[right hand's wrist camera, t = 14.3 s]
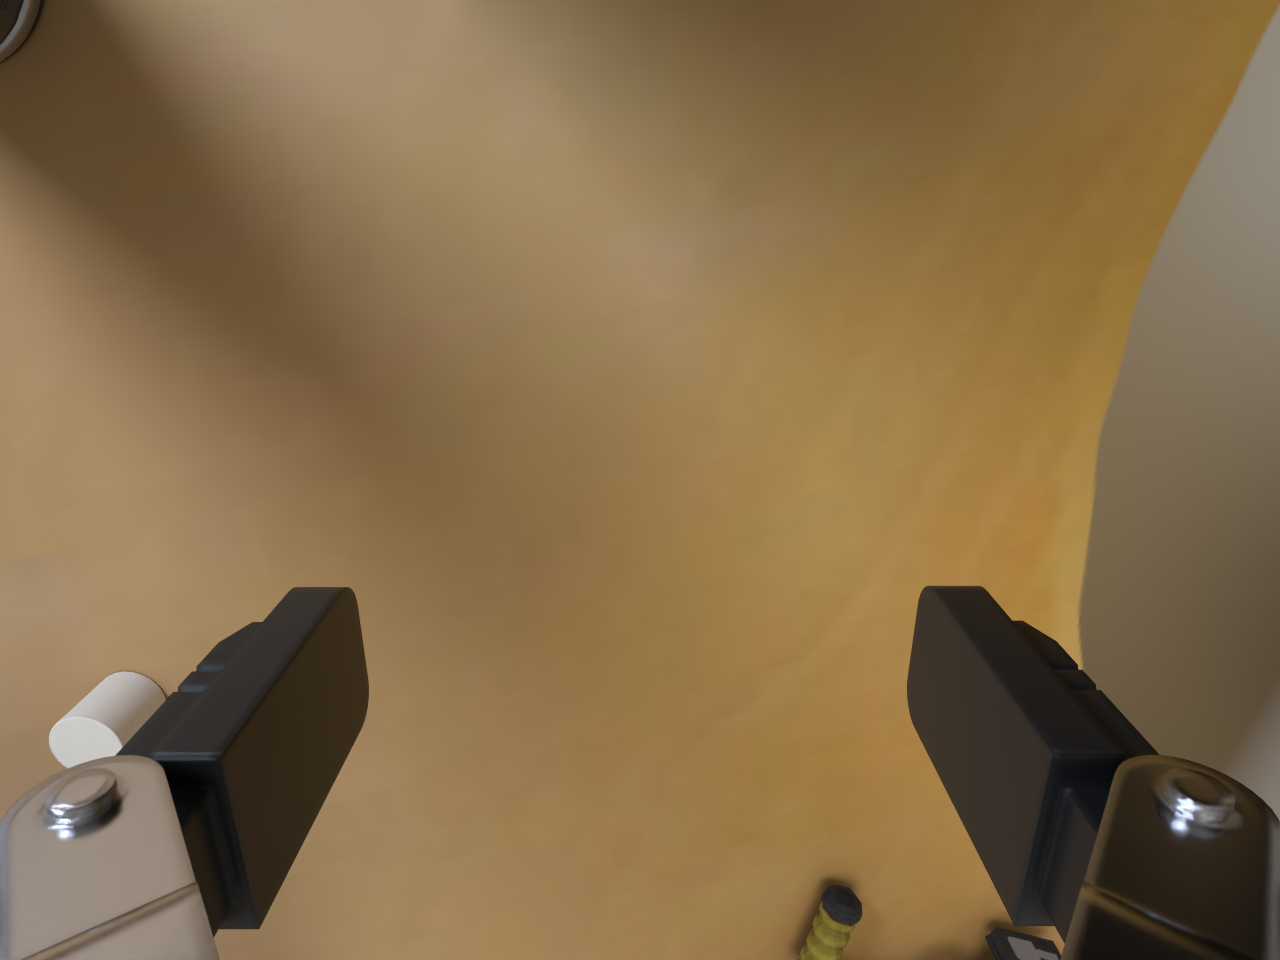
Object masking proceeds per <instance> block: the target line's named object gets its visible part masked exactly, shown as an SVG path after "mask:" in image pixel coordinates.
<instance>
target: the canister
mask: <svg viewBox="0 0 1280 960" xmlns="http://www.w3.org/2000/svg"><path fill="white" fill-rule="evenodd" d="M165 701H166V698H165V695H164V693H163V691H162V690H161V689H160V687H159V686H158V685H157V684H156V683H155V682H154V681H152V680H151V679H149V678H148V677H146V676H144V675H141V674H138V673H134V672H117V673H114V674H111V675H109V676H108V677H106V678H105V679H104V680H103V681H102V682H101V683H100V684H99V685H97V686H96V687H95V688H94V689H93V690H92V691H91V692H90V693H89V694H88V695H87V696H86V697H84V698H83V699H82V700H81V701H80V702H79V703H78V704H77V705H76V706H75V707H74V708H73V709H72V710H70V711H69V712H68V713H67V714H66V715H65V716H64V717H63V718H62V719H61V720H60V721H59V722H57V723H56V724H55V725H54V727H53V728H52V730H51V732H50V735H49V745H50V748H51V751H52V753H53V754H54V756H55V757H56V759H57V760H58V761H59V762H60V763H61V764H62V765H64V766H65V767H67V768H71V767H73V766H76V765H78V764H81V763H84V762H88V761H91V760H95V759H99V758H104V757H110V756H115V755H116V754H117V753H118V752H119V751H120V750H121V749H122V747H123V746H124V745H125V744H126V743H127V742H128V741H129V740H130V739H131V738H132V737H133V736H134V734H135V733H136V732H137V731H138V730H139V729H140V728H141V727H142V726H143V725H144V724H145V722H146V721H147V720H148V719H149V718H150V717H151V716H152V715H153V714H154V713H155V712H156V710H157V709H158V708H159V707H160V706H161V705H162V704H163V703H164V702H165Z"/></svg>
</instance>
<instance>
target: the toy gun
mask: <svg viewBox="0 0 1280 960" xmlns="http://www.w3.org/2000/svg"><path fill="white" fill-rule="evenodd" d="M819 910H820V914H818V915H817V916H815V917H814V921H813V928H812V929H811V930H810V932H809V934H808V937H807V940H806V942H807V944H806V945H805V946H803V947H802V949H801V952H800V958H799V959H797V960H840V958H841V956H842V955H843V947H846V945H847V943H848V940H849V938H850V933H849V932H851V931H853V929H854V927H855V924H856V923H857V922H858V921H859V920H860V919H861V916H862V903H861V902H860V901H859V899H858V898H857V897H856V895H855V894H854V893H853V892H852V890H851V889H850V888H847V887H840V886H831V887H830V888H828V889H827V890H826V891H825V893H824V894H823V896H822V902H821V904H820V906H819ZM986 940H987V942H988V944H989V946H990V948H991V950H992V952H993V954H994V957H995V959H996V960H1060V959H1061V955H1060V953H1059V951H1058V949H1057V947H1056V946H1055V944H1054V942H1053V941H1051V940H1047V939H1043V938H1039V937H1035V936H1031V935H1026V934H1022V933H1018V932H1013V931H1009V930H1005V929H1000V928H995V929H994V930H993V931H992V933H991V934H990V935H988V936H986Z"/></svg>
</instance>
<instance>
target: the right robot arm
mask: <svg viewBox="0 0 1280 960" xmlns="http://www.w3.org/2000/svg"><path fill="white" fill-rule="evenodd" d="M40 1H41V0H0V62H1V61H2V60H4V59H5V58H7V57H8V56H10V55H11V54H12V53H13V52H14V51H15V50H16V49H17V48H19V46H20V45H21V44H22V43H23V41H24V40H25V39H26V37H27V36H28V34H29V32H30V31H31V29H32V26H33V24H34V22H35V20H36V17H37V14H38V10H39V6H40ZM907 698H908V707H909V712H910V716H911V720H912V723H913V725H914V727H915V729H916V731H917V733H918V735H919V737H920V739H921V741H922V743H923V745H924V747H925V749H926V751H927V753H928V755H929V757H930V759H931V761H932V763H933V765H934V767H935V769H936V771H937V773H938V775H939V777H940V779H941V781H942V783H943V785H944V787H945V789H946V791H947V793H948V795H949V797H950V799H951V801H952V803H953V805H954V807H955V809H956V811H957V813H958V815H959V817H960V819H961V821H962V823H963V825H964V827H965V829H966V830H967V832H968V834H969V836H970V838H971V840H972V842H973V844H974V846H975V848H976V850H977V852H978V854H979V856H980V858H981V860H982V862H983V864H984V866H985V868H986V870H987V872H988V874H989V876H990V878H991V880H992V882H993V884H994V886H995V888H996V890H997V892H998V894H999V896H1000V898H1001V900H1002V902H1003V904H1004V906H1005V908H1006V910H1007V912H1008V914H1009V916H1010V918H1011V920H1012V922H1013V924H1014V926H1055V927H1056V929H1057V931H1058V932H1059V934H1060V936H1061V938H1062V940H1063V941H1064V943H1065V945H1064V949H1063V952H1062V956H1061V959H1060V960H1280V821H1279V819H1278V817H1277V816H1276V815H1275V813H1274V812H1273V810H1272V809H1271V808H1270V807H1269V806H1268V805H1267V804H1266V803H1265V802H1264V801H1263V800H1262V799H1261V798H1260V797H1259V796H1257V795H1256V794H1255V793H1254V792H1253V791H1251V790H1250V789H1248V788H1247V787H1245V786H1244V785H1243V784H1241V783H1239V782H1238V781H1236V780H1234V779H1232V778H1231V777H1229V776H1227V775H1225V774H1223V773H1221V772H1219V771H1217V770H1214V769H1212V768H1209V767H1207V766H1204V765H1202V764H1199V763H1195V762H1192V761H1189V760H1185V759H1181V758H1176V757H1170V756H1163V755H1159V754H1158V753H1157V752H1156V750H1155V749H1154V748H1153V747H1152V746H1151V745H1150V744H1149V743H1148V742H1147V741H1146V739H1145V738H1144V737H1143V736H1142V735H1141V734H1140V733H1139V732H1138V731H1137V730H1136V728H1135V727H1134V726H1133V725H1132V724H1131V723H1130V722H1129V721H1128V720H1127V719H1126V717H1125V716H1124V715H1123V714H1122V713H1121V712H1120V711H1119V710H1118V709H1117V708H1116V706H1115V705H1114V704H1113V703H1112V702H1111V701H1110V700H1109V699H1108V698H1107V697H1106V695H1105V694H1104V693H1103V692H1102V691H1101V690H1096V684H1095V683H1094V682H1093V681H1092V680H1091V679H1090V678H1089V677H1088V676H1087V675H1086V673H1085V672H1084V671H1083V670H1078V665H1077V664H1076V662H1075V661H1074V660H1073V659H1072V658H1071V657H1070V656H1069V655H1068V654H1067V653H1066V651H1065V650H1064V649H1063V648H1062V647H1061V646H1060V645H1059V644H1058V643H1057V642H1056V641H1055V640H1053V639H1052V638H1050V637H1048V636H1047V635H1045V634H1044V633H1042V632H1040V631H1039V630H1037V629H1035V628H1034V627H1032V626H1030V625H1029V624H1027V623H1025V622H1024V621H1012V620H1011V619H1010V617H1009V616H1008V615H1007V614H1006V613H1005V612H1004V610H1003V609H1002V608H1001V607H1000V606H999V605H998V603H997V602H996V601H995V600H994V599H993V597H992V596H991V595H990V594H989V593H988V592H987V590H986V589H984V588H983V587H981V586H926V587H925V588H924V589H923V590H922V592H921V594H920V598H919V602H918V608H917V615H916V622H915V630H914V637H913V644H912V651H911V658H910V665H909V672H908V680H907ZM368 699H369V683H368V675H367V668H366V661H365V653H364V646H363V639H362V632H361V625H360V618H359V611H358V605H357V600H356V596H355V594H354V592H353V591H352V589H350V588H348V587H295V588H293V589H291V590H290V591H289V592H288V593H287V594H286V596H285V597H284V598H283V599H282V600H281V601H280V603H279V604H278V605H277V606H276V607H275V608H274V609H273V611H272V612H271V613H270V614H269V615H268V616H267V618H266V619H265V620H264V621H263V622H252V623H250V624H249V625H247V626H245V627H244V628H242V629H240V630H239V631H237V632H236V633H234V634H232V635H231V636H229V637H227V638H226V639H224V640H222V641H221V642H219V643H218V644H217V645H216V646H215V647H214V648H213V649H212V650H211V652H210V653H209V654H208V655H207V656H206V657H205V658H204V659H203V660H202V661H201V662H200V664H199V665H198V666H197V670H196V672H191V673H190V674H189V676H188V677H187V678H186V679H185V680H184V681H183V682H182V683H181V684H180V685H179V686H178V692H173V693H172V694H171V695H170V696H169V697H168V698H167V700H166V701H165V702H164V703H163V704H162V705H161V706H160V707H159V708H158V709H157V710H156V712H155V713H154V714H153V715H152V716H151V717H150V718H149V719H148V720H147V721H146V722H145V724H144V725H143V726H142V727H141V728H140V729H139V730H138V731H137V732H136V733H135V734H134V736H133V737H132V738H131V739H130V740H129V741H128V742H127V743H126V744H125V745H124V746H123V747H122V749H121V750H120V751H119V752H118V753H117V754H116V755H115V756H110V757H104V758H99V759H95V760H91V761H88V762H84V763H81V764H78V765H76V766H73V767H71V768H68V769H65V770H63V771H61V772H59V773H57V774H55V775H53V776H51V777H49V778H48V779H46V780H44V781H42V782H41V783H39V784H37V785H36V786H35V787H33V788H32V789H30V790H29V791H27V792H26V793H25V794H24V795H23V796H21V797H20V798H19V799H18V800H17V801H16V802H15V803H14V804H13V805H12V806H11V807H10V808H9V809H8V810H7V812H6V813H5V815H4V816H3V817H2V819H1V821H0V960H220V959H219V956H218V952H217V949H216V945H215V942H214V936H215V934H216V933H217V931H218V929H259V928H260V926H261V924H262V922H263V921H264V919H265V917H266V915H267V913H268V911H269V909H270V907H271V905H272V903H273V901H274V899H275V897H276V895H277V893H278V891H279V889H280V887H281V885H282V883H283V881H284V879H285V877H286V875H287V874H288V872H289V870H290V868H291V866H292V864H293V862H294V860H295V858H296V856H297V854H298V852H299V850H300V848H301V846H302V844H303V842H304V840H305V838H306V836H307V834H308V832H309V830H310V829H311V827H312V825H313V823H314V821H315V819H316V817H317V815H318V813H319V811H320V809H321V807H322V805H323V803H324V801H325V799H326V797H327V795H328V793H329V791H330V789H331V787H332V785H333V783H334V782H335V780H336V778H337V776H338V774H339V772H340V770H341V768H342V766H343V764H344V762H345V760H346V758H347V756H348V754H349V752H350V750H351V748H352V746H353V744H354V742H355V740H356V738H357V736H358V735H359V733H360V731H361V729H362V726H363V724H364V721H365V717H366V713H367V707H368Z"/></svg>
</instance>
